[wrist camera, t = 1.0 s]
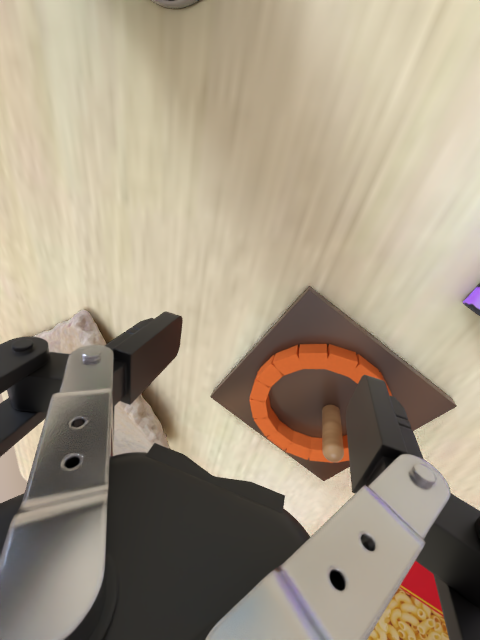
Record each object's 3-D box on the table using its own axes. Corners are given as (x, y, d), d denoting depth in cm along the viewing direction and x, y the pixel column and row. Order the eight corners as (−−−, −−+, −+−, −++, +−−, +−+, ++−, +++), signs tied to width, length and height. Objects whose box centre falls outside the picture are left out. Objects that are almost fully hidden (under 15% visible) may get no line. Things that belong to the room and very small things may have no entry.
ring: (230, 397, 35) (226, 408, 33) (311, 316, 27) (310, 324, 26) (322, 466, 35) (322, 480, 34) (424, 405, 28) (430, 418, 26)
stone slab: (111, 295, 35) (10, 339, 41) (69, 319, 29) (-43, 368, 35) (196, 431, 43) (101, 452, 49) (179, 475, 36) (72, 493, 43)
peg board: (213, 391, 37) (189, 436, 30) (309, 285, 27) (305, 316, 21) (323, 473, 38) (324, 534, 31) (452, 398, 28) (492, 462, 22)
